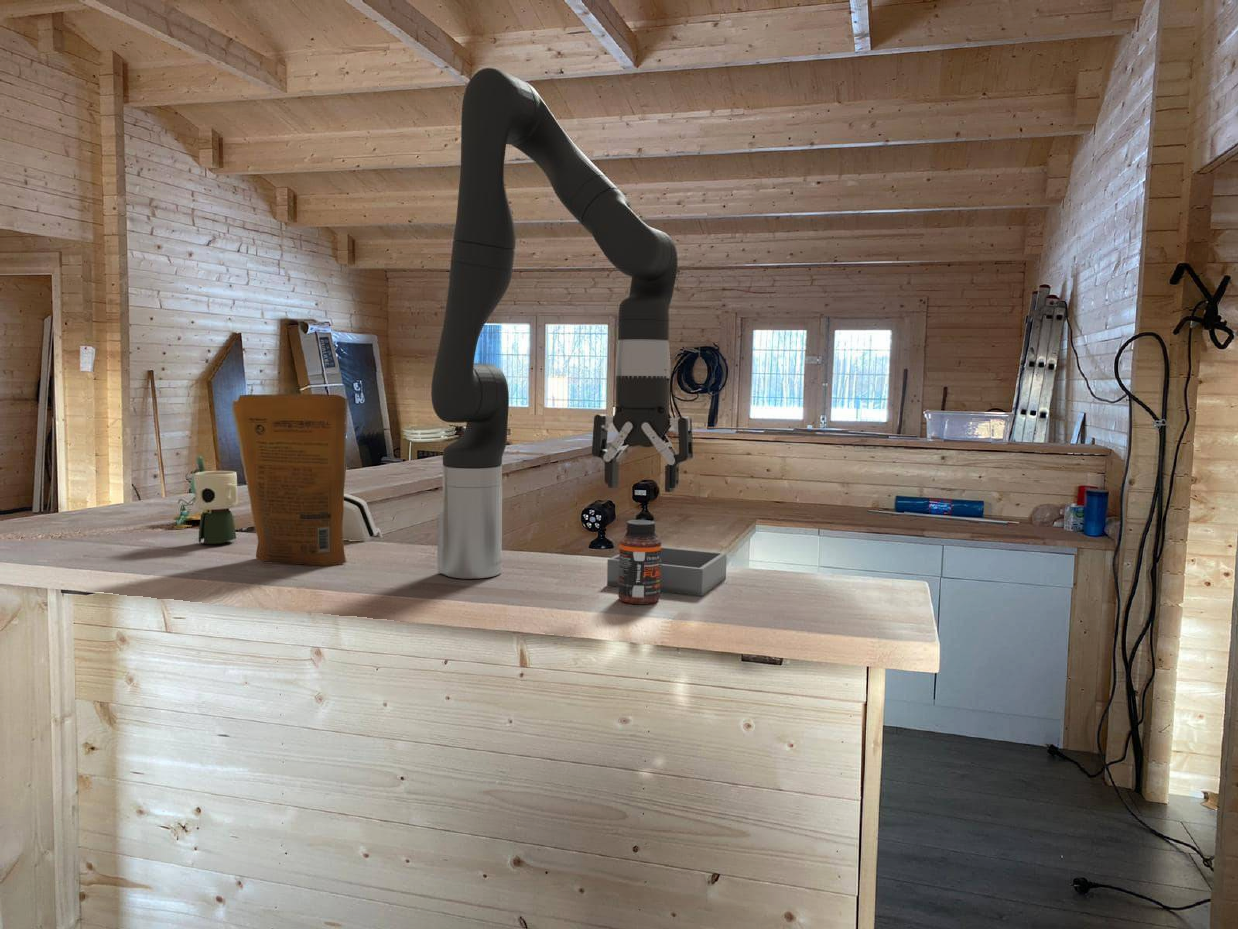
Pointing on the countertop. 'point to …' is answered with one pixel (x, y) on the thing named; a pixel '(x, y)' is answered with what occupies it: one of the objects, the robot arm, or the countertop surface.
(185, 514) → the frog figurine
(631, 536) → the supplement bottle
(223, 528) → the character mug
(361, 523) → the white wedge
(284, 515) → the pancake mix bag
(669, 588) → the bin
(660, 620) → the countertop surface
